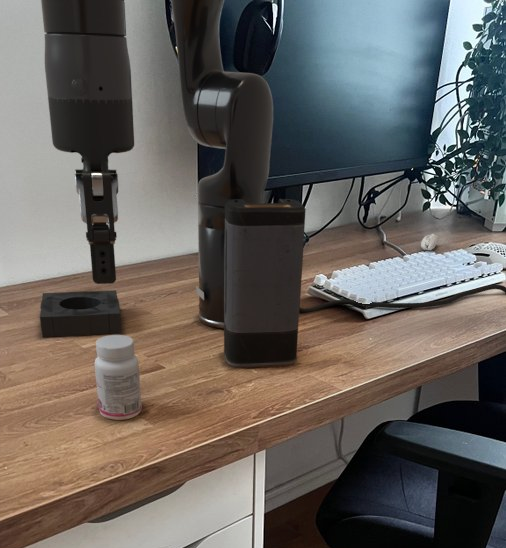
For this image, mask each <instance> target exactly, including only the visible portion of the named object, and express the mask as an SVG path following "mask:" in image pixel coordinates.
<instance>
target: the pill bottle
mask: <svg viewBox="0 0 506 548" xmlns="http://www.w3.org/2000/svg"><path fill="white" fill-rule="evenodd" d="M95 349H96V351H95V352H96V355H97V357H96V358H95V360H94V372H95V373H94V374H95V383H96V384H95V385H96V393H97V401H98V411H99V414H100V415H101V416H102V417H104V418H106V419H108V420H114V421H115V420H116V421H124V420H129V419H132V418H134V417H137V416H138V415H139V414H141V412H142V406H143V405H142V395H141V379H140V363H139V359H138V356H136V355H135V353H136V352H135V342H134V339H133V338H132V337H130V336H128V335H123V334H108V335H105V336H102V337H99V338H98V339H97V340H96V341H95Z"/></svg>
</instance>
